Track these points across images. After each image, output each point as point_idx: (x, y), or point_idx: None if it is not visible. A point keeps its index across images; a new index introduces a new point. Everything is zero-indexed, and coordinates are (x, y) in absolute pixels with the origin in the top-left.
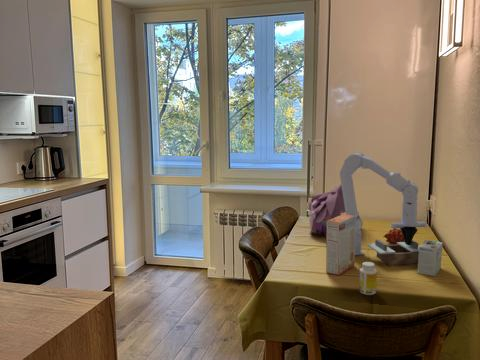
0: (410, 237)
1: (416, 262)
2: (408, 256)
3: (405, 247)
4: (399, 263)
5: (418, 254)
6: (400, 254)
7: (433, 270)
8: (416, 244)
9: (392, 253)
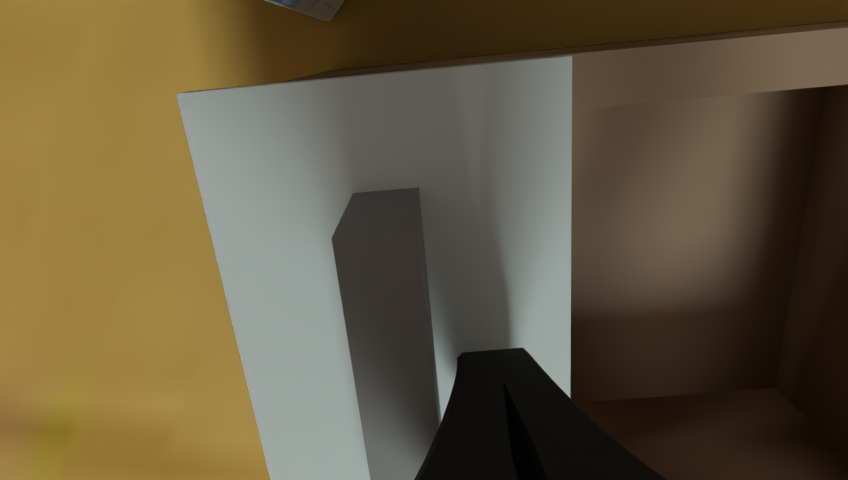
0: (513, 467)
1: (428, 61)
2: (604, 47)
3: (569, 312)
4: (717, 34)
5: (395, 68)
6: (809, 31)
7: None
8: (391, 223)
9: None
